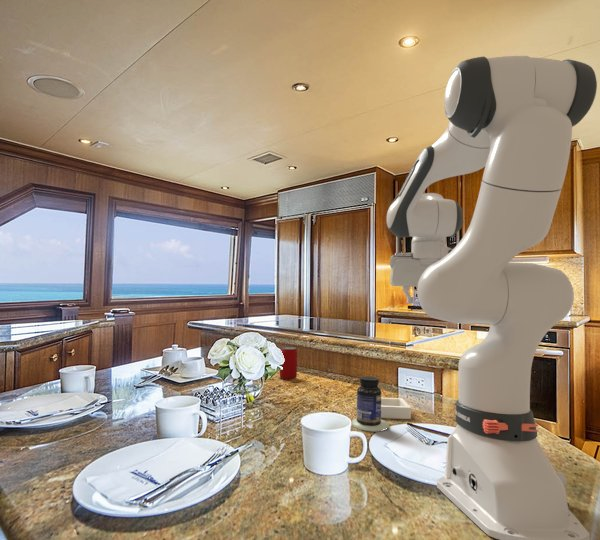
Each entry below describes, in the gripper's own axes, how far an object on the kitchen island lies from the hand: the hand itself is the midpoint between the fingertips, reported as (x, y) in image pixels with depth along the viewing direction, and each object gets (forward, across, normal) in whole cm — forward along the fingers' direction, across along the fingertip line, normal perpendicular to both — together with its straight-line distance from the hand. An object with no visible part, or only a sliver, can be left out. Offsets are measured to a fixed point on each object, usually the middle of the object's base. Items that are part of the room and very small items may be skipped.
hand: (427, 304), depth 106 cm
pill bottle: (+30, -16, -6) cm, 35 cm away
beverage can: (+31, -40, +48) cm, 70 cm away
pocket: (+31, -9, +6) cm, 33 cm away
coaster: (+31, -16, -6) cm, 35 cm away
